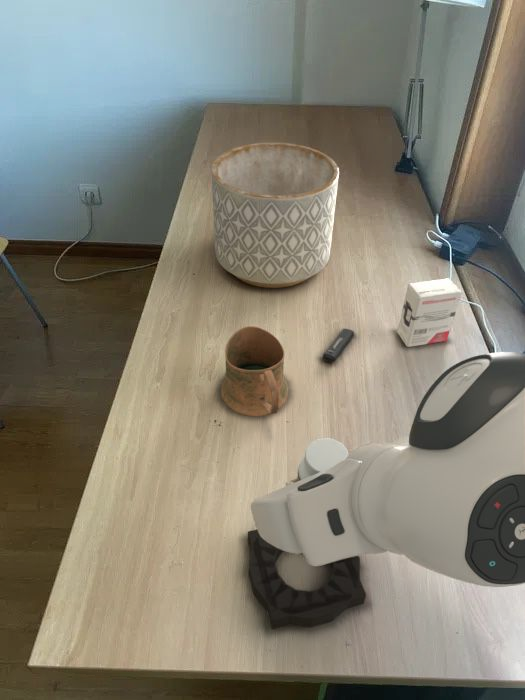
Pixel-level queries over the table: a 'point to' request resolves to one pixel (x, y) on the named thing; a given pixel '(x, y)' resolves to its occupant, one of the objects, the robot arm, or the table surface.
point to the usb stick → (338, 345)
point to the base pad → (299, 604)
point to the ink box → (428, 312)
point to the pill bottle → (321, 456)
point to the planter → (273, 212)
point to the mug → (254, 373)
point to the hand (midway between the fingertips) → (320, 476)
